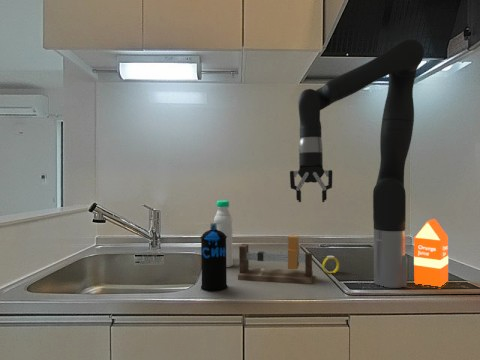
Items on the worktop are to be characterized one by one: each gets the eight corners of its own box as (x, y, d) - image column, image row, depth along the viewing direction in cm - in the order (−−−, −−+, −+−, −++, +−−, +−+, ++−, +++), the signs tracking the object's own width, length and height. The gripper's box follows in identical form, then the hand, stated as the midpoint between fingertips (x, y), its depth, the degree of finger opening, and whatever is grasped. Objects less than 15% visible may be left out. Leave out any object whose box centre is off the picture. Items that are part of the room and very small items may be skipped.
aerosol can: (201, 283, 120) (200, 221, 119) (227, 283, 120) (226, 221, 120) (200, 291, 111) (199, 225, 111) (227, 291, 112) (227, 224, 112)
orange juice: (413, 283, 118) (413, 220, 117) (422, 277, 124) (422, 217, 124) (441, 288, 112) (440, 222, 112) (448, 282, 119) (448, 219, 119)
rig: (312, 275, 128) (312, 245, 128) (311, 283, 118) (310, 250, 118) (244, 271, 134) (244, 242, 134) (237, 279, 124) (237, 248, 124)
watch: (325, 275, 129) (324, 258, 129) (321, 273, 132) (320, 256, 132) (340, 272, 131) (339, 256, 131) (336, 270, 134) (335, 254, 134)
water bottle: (212, 264, 145) (211, 200, 145) (229, 262, 148) (228, 199, 147) (217, 268, 139) (216, 201, 138) (235, 267, 141) (234, 200, 141)
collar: (298, 264, 127) (298, 235, 127) (297, 269, 121) (297, 238, 121) (290, 264, 128) (289, 234, 128) (288, 268, 122) (287, 237, 122)
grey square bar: (306, 261, 125) (305, 253, 125) (305, 263, 122) (305, 254, 122) (247, 258, 130) (247, 250, 130) (246, 260, 127) (245, 252, 127)
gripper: (333, 151, 125) (333, 201, 125) (290, 153, 128) (290, 201, 128) (333, 150, 117) (333, 202, 118) (287, 151, 121) (288, 202, 121)
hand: (311, 201), depth 123 cm, fingers open, 7 cm apart
